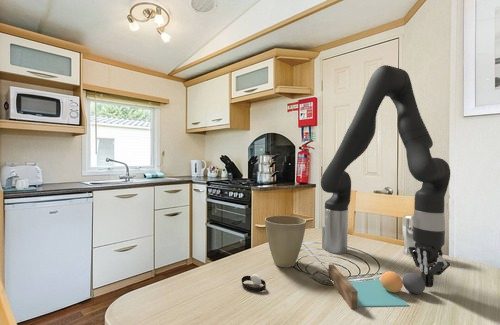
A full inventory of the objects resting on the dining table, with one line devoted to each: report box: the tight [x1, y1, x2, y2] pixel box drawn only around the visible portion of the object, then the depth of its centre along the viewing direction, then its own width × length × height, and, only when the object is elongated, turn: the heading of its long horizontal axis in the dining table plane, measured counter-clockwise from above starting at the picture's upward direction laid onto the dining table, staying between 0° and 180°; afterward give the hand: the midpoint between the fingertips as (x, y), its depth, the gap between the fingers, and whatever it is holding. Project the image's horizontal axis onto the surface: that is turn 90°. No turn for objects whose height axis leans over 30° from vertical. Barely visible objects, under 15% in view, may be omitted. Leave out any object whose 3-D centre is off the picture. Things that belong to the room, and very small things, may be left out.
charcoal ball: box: [401, 271, 426, 295], centre depth 71 cm, size 6×6×6 cm
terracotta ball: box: [380, 270, 404, 294], centre depth 71 cm, size 6×6×6 cm
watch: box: [241, 273, 267, 293], centre depth 72 cm, size 8×5×4 cm, turn 60°
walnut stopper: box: [327, 264, 358, 310], centre depth 70 cm, size 16×2×4 cm, turn 3°
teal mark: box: [350, 278, 410, 308], centre depth 71 cm, size 14×14×1 cm
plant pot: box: [264, 214, 307, 268], centre depth 90 cm, size 15×15×16 cm
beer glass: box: [401, 215, 415, 258], centre depth 100 cm, size 7×7×15 cm
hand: (427, 285), depth 72 cm, fingers closed
